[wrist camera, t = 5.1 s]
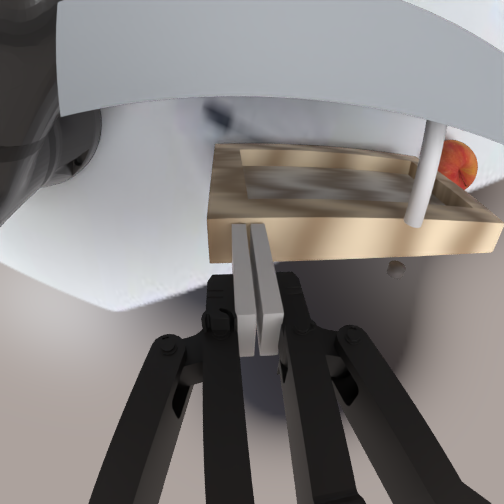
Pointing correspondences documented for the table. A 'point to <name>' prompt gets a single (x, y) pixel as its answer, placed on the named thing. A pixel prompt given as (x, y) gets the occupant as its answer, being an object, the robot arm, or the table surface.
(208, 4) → the panel
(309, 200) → the frame
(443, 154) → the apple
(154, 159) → the table surface
